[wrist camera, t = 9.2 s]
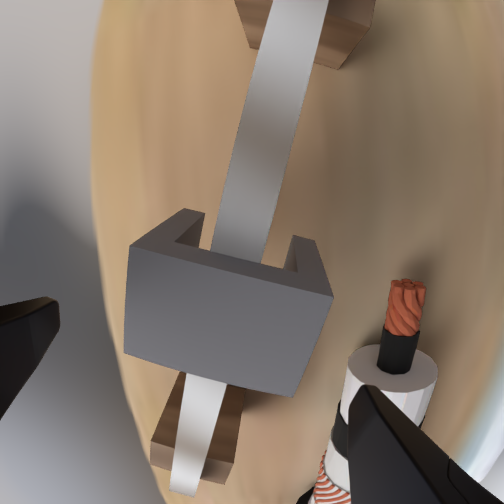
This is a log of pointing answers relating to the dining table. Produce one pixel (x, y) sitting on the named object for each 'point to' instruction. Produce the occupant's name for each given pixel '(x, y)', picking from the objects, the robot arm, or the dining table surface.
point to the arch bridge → (253, 206)
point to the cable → (380, 385)
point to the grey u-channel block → (223, 308)
